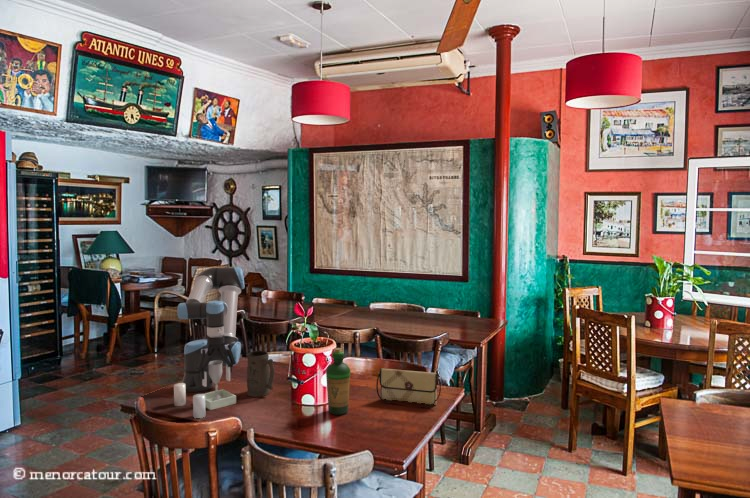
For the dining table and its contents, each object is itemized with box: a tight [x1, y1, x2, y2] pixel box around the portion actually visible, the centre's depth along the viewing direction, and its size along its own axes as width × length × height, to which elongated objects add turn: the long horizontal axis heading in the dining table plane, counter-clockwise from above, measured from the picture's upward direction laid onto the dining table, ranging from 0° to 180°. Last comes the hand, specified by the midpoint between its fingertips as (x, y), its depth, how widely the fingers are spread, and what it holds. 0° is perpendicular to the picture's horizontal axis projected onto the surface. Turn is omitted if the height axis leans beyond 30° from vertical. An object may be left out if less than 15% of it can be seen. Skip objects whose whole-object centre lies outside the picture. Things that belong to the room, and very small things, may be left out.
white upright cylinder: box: [173, 382, 187, 407], centre depth 248 cm, size 5×5×9 cm
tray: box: [204, 388, 237, 411], centre depth 250 cm, size 13×13×4 cm
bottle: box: [325, 347, 351, 416], centre depth 238 cm, size 11×11×28 cm
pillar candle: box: [192, 393, 207, 419], centre depth 234 cm, size 5×5×9 cm
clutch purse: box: [375, 367, 442, 409], centre depth 248 cm, size 30×7×15 cm, turn 73°
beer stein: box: [246, 350, 275, 398], centre depth 262 cm, size 15×11×20 cm
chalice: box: [208, 360, 223, 401], centre depth 249 cm, size 7×7×18 cm
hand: (216, 383), depth 249 cm, fingers open, 11 cm apart
